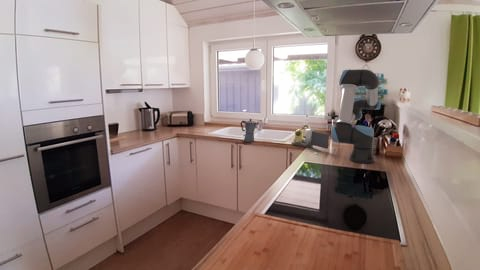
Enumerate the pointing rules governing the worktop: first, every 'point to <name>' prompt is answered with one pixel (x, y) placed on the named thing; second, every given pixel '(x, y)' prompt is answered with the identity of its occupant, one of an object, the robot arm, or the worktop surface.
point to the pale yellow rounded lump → (298, 138)
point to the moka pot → (249, 130)
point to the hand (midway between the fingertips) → (330, 118)
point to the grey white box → (316, 139)
